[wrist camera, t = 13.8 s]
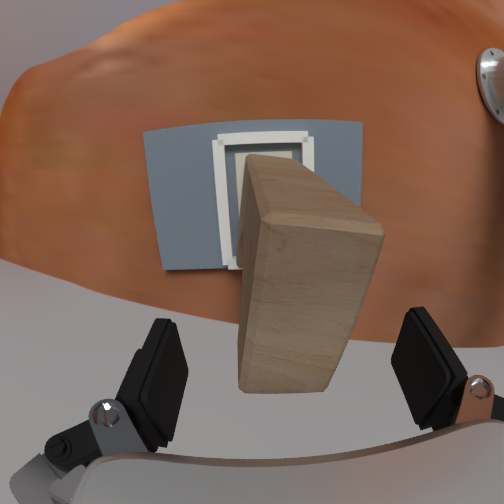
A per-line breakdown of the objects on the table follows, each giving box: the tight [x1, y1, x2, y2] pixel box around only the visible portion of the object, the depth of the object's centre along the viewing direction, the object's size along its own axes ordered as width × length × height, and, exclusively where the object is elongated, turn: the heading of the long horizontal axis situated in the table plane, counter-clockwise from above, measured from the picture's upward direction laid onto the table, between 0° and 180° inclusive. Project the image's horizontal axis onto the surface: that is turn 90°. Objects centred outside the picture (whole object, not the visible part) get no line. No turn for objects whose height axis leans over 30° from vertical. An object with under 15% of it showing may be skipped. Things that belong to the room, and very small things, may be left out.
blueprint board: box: [143, 119, 363, 270], centre depth 31 cm, size 24×17×2 cm
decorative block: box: [236, 154, 385, 394], centre depth 22 cm, size 11×6×20 cm, turn 173°
